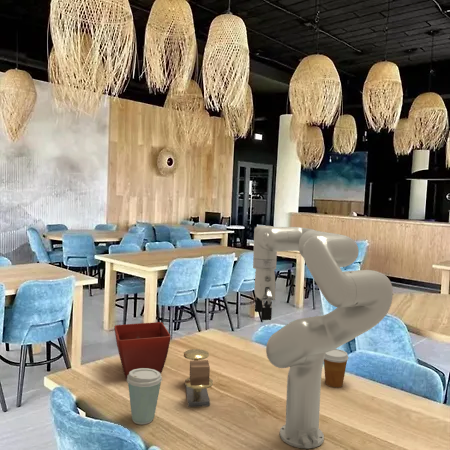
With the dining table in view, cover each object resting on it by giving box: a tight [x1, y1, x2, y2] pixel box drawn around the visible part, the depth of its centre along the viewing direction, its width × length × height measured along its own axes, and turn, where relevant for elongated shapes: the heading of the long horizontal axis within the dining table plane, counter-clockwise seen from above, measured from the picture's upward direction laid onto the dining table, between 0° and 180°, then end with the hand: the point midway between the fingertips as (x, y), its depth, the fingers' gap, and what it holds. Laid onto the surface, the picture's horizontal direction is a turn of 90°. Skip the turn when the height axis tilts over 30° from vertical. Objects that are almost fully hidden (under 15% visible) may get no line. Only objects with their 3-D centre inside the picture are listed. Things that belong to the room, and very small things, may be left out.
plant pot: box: [114, 321, 171, 381], centre depth 170 cm, size 19×19×17 cm
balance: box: [183, 348, 214, 408], centre depth 154 cm, size 23×9×12 cm, turn 8°
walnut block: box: [189, 359, 211, 385], centre depth 146 cm, size 6×6×6 cm
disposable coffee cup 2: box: [323, 348, 350, 388], centre depth 166 cm, size 10×10×12 cm
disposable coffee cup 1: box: [126, 368, 163, 425], centre depth 135 cm, size 11×11×15 cm
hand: (262, 315), depth 145 cm, fingers open, 9 cm apart
